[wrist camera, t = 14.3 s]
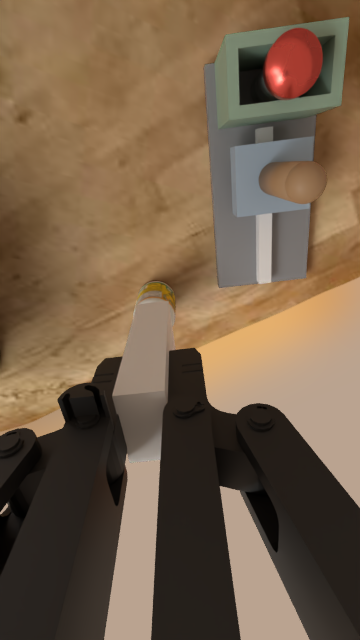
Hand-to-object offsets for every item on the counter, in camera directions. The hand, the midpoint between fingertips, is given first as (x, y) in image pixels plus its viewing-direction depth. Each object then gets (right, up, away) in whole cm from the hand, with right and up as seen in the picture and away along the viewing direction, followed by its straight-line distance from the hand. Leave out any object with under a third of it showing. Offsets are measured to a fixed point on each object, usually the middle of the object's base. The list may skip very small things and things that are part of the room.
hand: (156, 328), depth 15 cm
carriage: (+11, +17, +22) cm, 31 cm away
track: (+11, +17, +24) cm, 32 cm away
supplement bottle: (-2, +4, +31) cm, 31 cm away
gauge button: (+10, +25, +18) cm, 32 cm away
